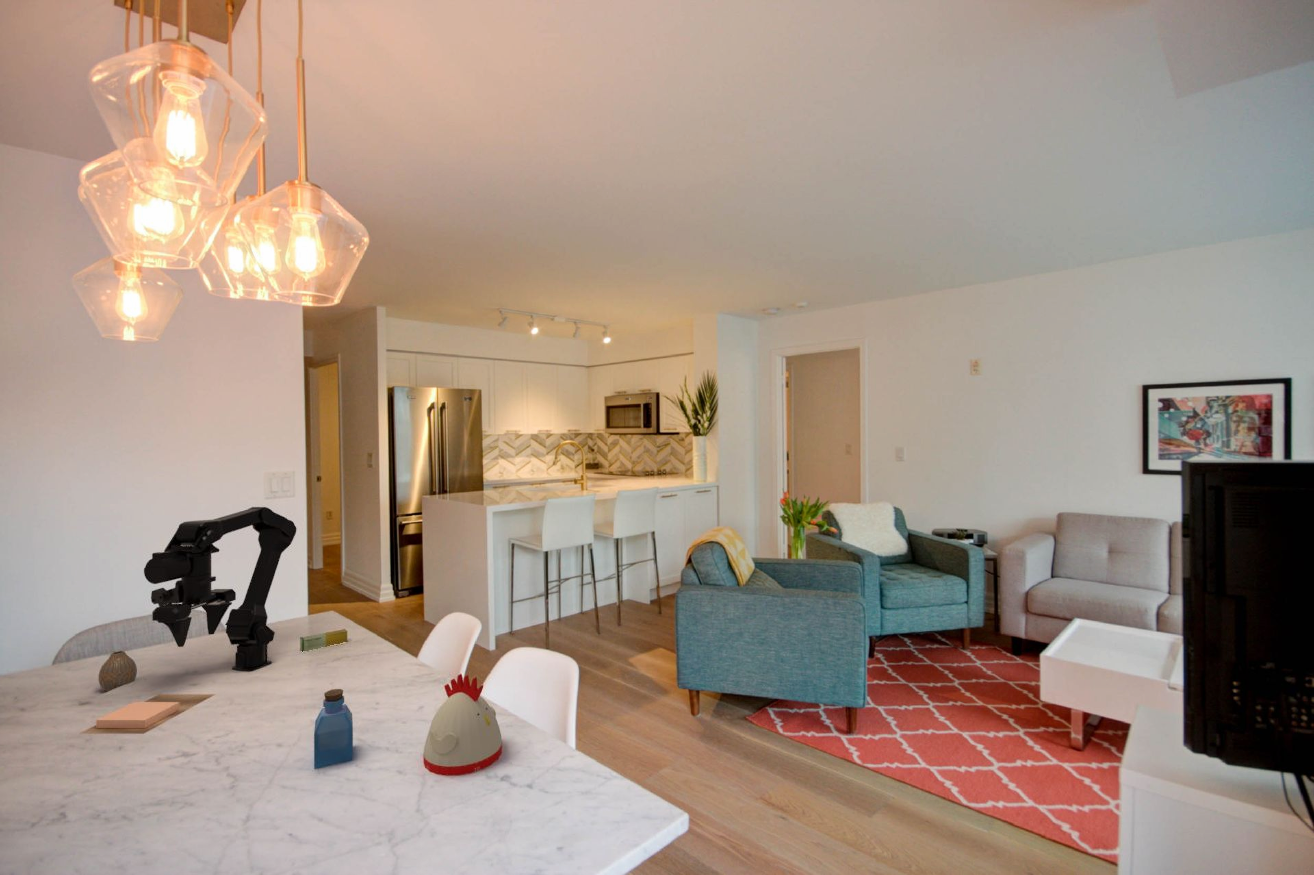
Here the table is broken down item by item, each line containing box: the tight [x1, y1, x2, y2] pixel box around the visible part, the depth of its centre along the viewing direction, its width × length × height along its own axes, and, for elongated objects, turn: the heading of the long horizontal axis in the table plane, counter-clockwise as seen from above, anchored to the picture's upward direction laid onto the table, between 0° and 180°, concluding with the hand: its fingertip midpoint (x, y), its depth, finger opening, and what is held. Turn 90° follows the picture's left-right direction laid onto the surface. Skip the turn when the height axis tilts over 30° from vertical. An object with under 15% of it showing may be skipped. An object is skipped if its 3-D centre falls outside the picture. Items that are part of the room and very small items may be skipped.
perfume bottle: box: [313, 688, 354, 770], centre depth 113 cm, size 6×6×12 cm
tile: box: [95, 701, 179, 728], centre depth 126 cm, size 2×10×8 cm
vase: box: [98, 650, 138, 693], centre depth 146 cm, size 7×7×9 cm
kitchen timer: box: [422, 673, 503, 777], centre depth 114 cm, size 14×14×15 cm
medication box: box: [299, 628, 348, 653], centre depth 176 cm, size 12×3×4 cm, turn 132°
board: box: [80, 693, 216, 735], centre depth 130 cm, size 19×13×2 cm
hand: (196, 640), depth 145 cm, fingers open, 9 cm apart
